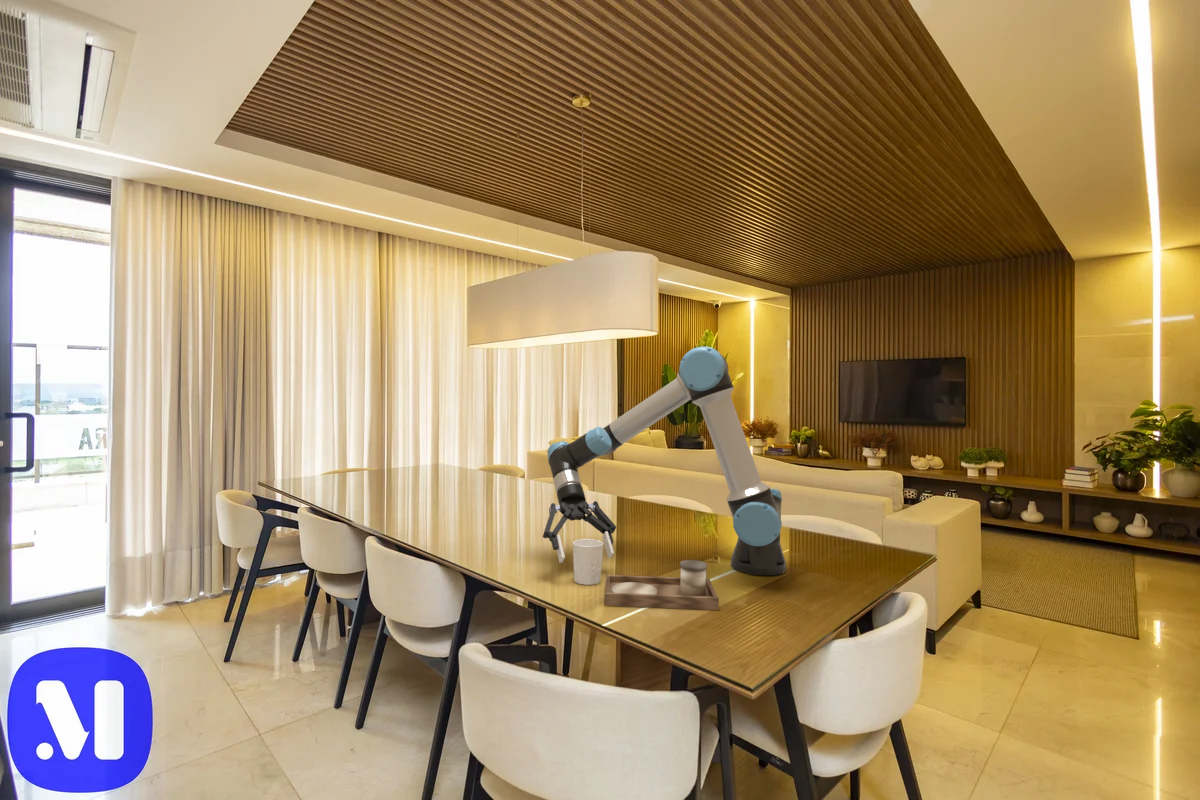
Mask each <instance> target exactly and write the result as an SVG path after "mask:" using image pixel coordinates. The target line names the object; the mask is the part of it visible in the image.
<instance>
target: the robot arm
mask: <svg viewBox="0 0 1200 800" xmlns="http://www.w3.org/2000/svg"><path fill="white" fill-rule="evenodd" d="M728 364H729V363H728V362H727V360H726V358H725V357H724V355H722V354H721V353H720V352H719V351H718V350H716V349H715V348H713V347H710V346H698V347H693V348H692V349H690V350H689V351H687V352H686V353H685V354H684V355H683V357H682V359H681V360H680V363H679V369H678V370H679V372H677V374H676V375H677V376H676V378H675V379H673V380H671V382H669V383H667V384H665V385H664V386H663V387H661V388H660V389H658V390H657V391H655V393H652V394H651V395H650V396H648V397H647V398H646V399H644V400H643V401H641V402H639V403H638V404H637V405H635V406H634V407H632V408H630V410H628V411H626V412H625V413H624V414H622V415H621V416H619V417H618V418H616V419H615V420H614V421H612V422H610V423H608V424H607V425H606V426H605V427H601V426H597V427H595V428H593V429H591V430H588V431H587V432H586V433H584V434H582V435H581V436H579V437H578V438H576V439H575V440H573V441H572V442H570V443H569V442H568V441H564V440H559V441H558V442H554V443H552V444H551V445H549V447H548V449H547V453H546V455H547V460H548V461H547V462H548V465H549V468H550V473H551V475H552V479H553V485H554V488H555V492H556V498H557V500H558V504H557V505H556V503H555V502H552V503H550V506H549V509H548V513H549V514H548V515H549V516H548V518H547V522H546V524H545V528H544V531H543V534H542V538H543V539H548V540H549V542H551V546H552V549H553V551H556V553H557V559H558V562H559V563H561V564H563V562H564V560H565V558H566V555H565V552H564V547H563V544H562V539H561V535H560V534H559V532H560V531H561V529H562V527H564V525H565V523H567V520H569V521H570V522H571V521H582V520H583V521H584V522H586V523H589V524H590V525H591V526H592V527H593V528H595V529H596V530H597V531H599V532H600V533H601V534H602V536H601V537H602V542H603V546H604V548H605V552H606V555H607V558H608V559H612V557H613V556H614V554H615V552H614V548H613V545H614V538H613V535H612V534H614V532H615V531H616V529H617V526H616V524H614V522H613V521H612V520H611V519H610V517H609V516H608V515H607V514H606V513H605V512H604V511H603V510H602V508H601V507H600V505H599V502H598V501H596V500H595V501H593V503H588V502H587V501H586V500H587V499H586V495H585V492H584V488H583V483H582V482H581V478H580V474H579V469H580V468H581V467H583V466H585V465H586V464H588V463H590V462H591V461H594V459H597V458H600V457H603V456H608V455H609V456H610V454H612V453H614V452H616V450H617V449H619V448H620V447H621V446H623V445H625V443H627V442H629V441H630V440H632V439H633V438H635V437H636V436H637V435H639V434H641V433H642V432H643V431H645V430H646V429H648V428H650V427H651V426H652V425H654V424H656V423H657V422H658V421H660V420H661V419H663V418H665V417H666V416H667V415H670V414H671V413H672V412H674V411H676V410H677V409H678V408H680V407H681V406H683V405H684V404H686V403H687V402H689V401H690V400H691V401H692V402H691V403H692V404H694V405H696V406H697V407H699V408H700V411H701V413H702V416H703V419H704V422H705V425H706V427H707V428H706V429H707V430H708V433H709V436H710V439H711V442H712V445H713V448H714V450H715V454H716V456H717V459H718V462H719V464H720V467H721V470H722V473H723V476H724V479H725V481H726V484H727V487H728V490H729V494H728V496H727V497H726V501H727V504H728V507H729V508H728V509H729V510H730V513H731V516H732V525H733V527H732V528H733V531H734V532H735V534H736V535H737V540H736V544H735V547H734V549H733V552H732V554H731V558H730V567H731V568H732V567H733V568H732V569H734V570H736V571H738V570H739V571H738V572H740V571H742V572H741V573H744V572H745V573H744V574H748V573H749V574H748V575H753V574H754V575H755V576H762V575H774V576H778V575H777V574H780V575H782V574H781V573H783V572H785V573H786V572H787V571H786V570H787V568H786V567H787V562H786V559H785V556H784V551H783V549H782V545H781V530H782V525H783V524H782V501H783V498H782V491H780V490H779V489H777V488H771V487H770V486H769V485H768V484H766V483H764V482H763V481H762V480H761V477H760V474H759V472H758V469H757V466H756V463H755V461H754V458H753V454H752V452H751V449H750V446H749V444H748V441H747V439H746V435H745V433H744V429H743V427H742V424H741V422H740V419H739V416H738V413H737V411H736V408H735V405H734V402H733V400H732V394H733V391H734V389H735V388H734V385H733V382H732V379H731V377H730V374H729V365H728ZM558 511H559V512H560V513H561V514H562V516H561V518H560V520H559V521H558V523H557V524H556V526H555V527H554V529H553V531H551V529H552V525H553V522H554V519H555V516H556V514H557V513H558ZM783 574H784V573H783ZM754 575H753V576H754Z"/></svg>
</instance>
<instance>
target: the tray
mask: <svg viewBox="0 0 1200 800" xmlns="http://www.w3.org/2000/svg"><path fill="white" fill-rule="evenodd" d="M679 567H680V577H671V576H649V575H648V576H647V575H645V576H643V575H621V574H619V575H618V574H617V575H616V574H606V576H605V586H604V587H605V588H604V606H605V605H614V606H613V607H625V606H630V607H629V608H650V607H651V608H655V609H676V610H677V609H679V610H680V609H681V610H701V611H702V610H704V611H705V610H707V611H719V605H720V604H719V602H720V601H719V600H720V598H719V596H718V594H717V592H716V590H715V588H714V586H713V584H712V581H711V579H710V578H707V569H708V563H707V562H705V561H702V560H697V559H685V560H682V561H680V562H679Z"/></svg>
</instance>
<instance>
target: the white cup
mask: <svg viewBox="0 0 1200 800" xmlns="http://www.w3.org/2000/svg"><path fill="white" fill-rule="evenodd" d="M603 553H604V542H603V540H599V539H596V538H595V539H593V538H580V539H576V540H573V542H572V556H573V557H572V559H573V581H574V582H575V583H577V584H579V585H582V584H583V585H584V586H592V585H597V584H600V582H601V577H602V576H601V575H602V566H603V557H604V556H603Z"/></svg>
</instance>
